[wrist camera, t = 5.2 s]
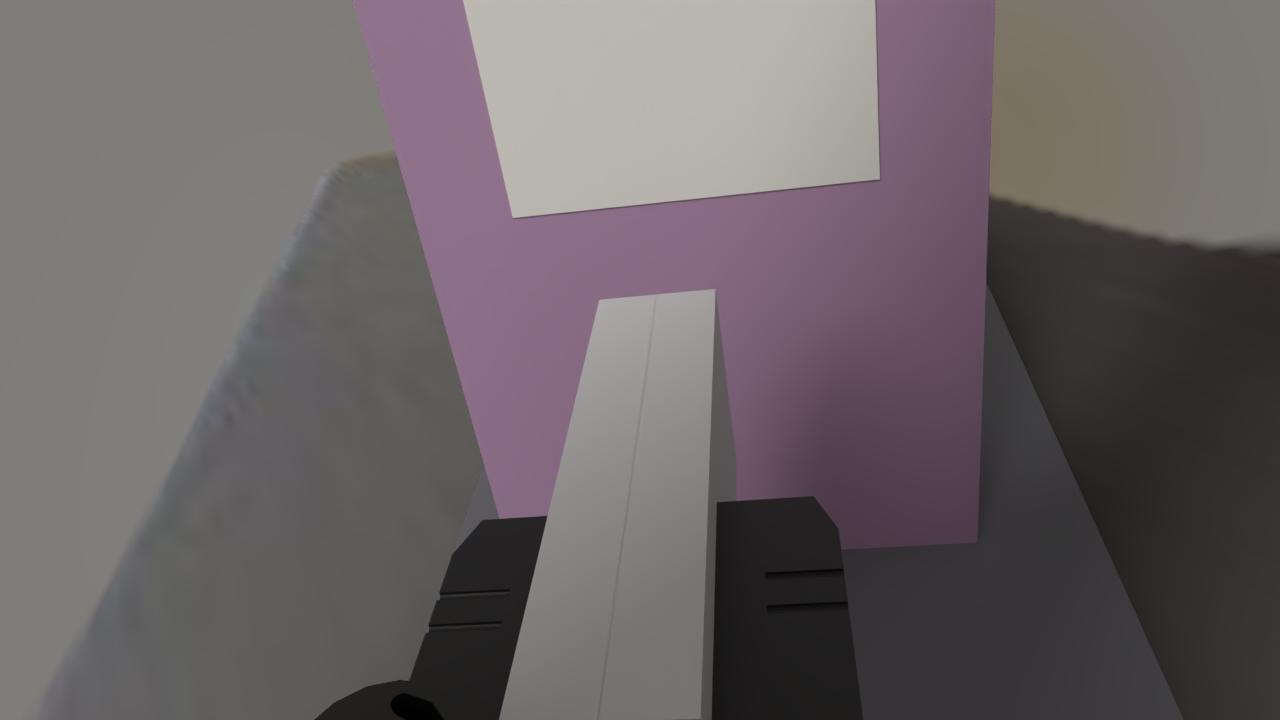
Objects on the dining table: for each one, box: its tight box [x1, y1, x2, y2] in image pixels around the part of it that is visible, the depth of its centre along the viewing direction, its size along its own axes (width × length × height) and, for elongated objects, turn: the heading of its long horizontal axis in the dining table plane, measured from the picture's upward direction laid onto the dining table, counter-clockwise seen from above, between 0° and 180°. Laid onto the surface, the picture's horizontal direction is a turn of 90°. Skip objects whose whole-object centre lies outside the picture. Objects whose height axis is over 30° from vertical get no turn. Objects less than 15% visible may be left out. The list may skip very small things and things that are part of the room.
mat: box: [409, 282, 1184, 720], centre depth 28 cm, size 30×14×1 cm, turn 176°
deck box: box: [353, 0, 995, 550], centre depth 19 cm, size 4×10×16 cm, turn 86°
